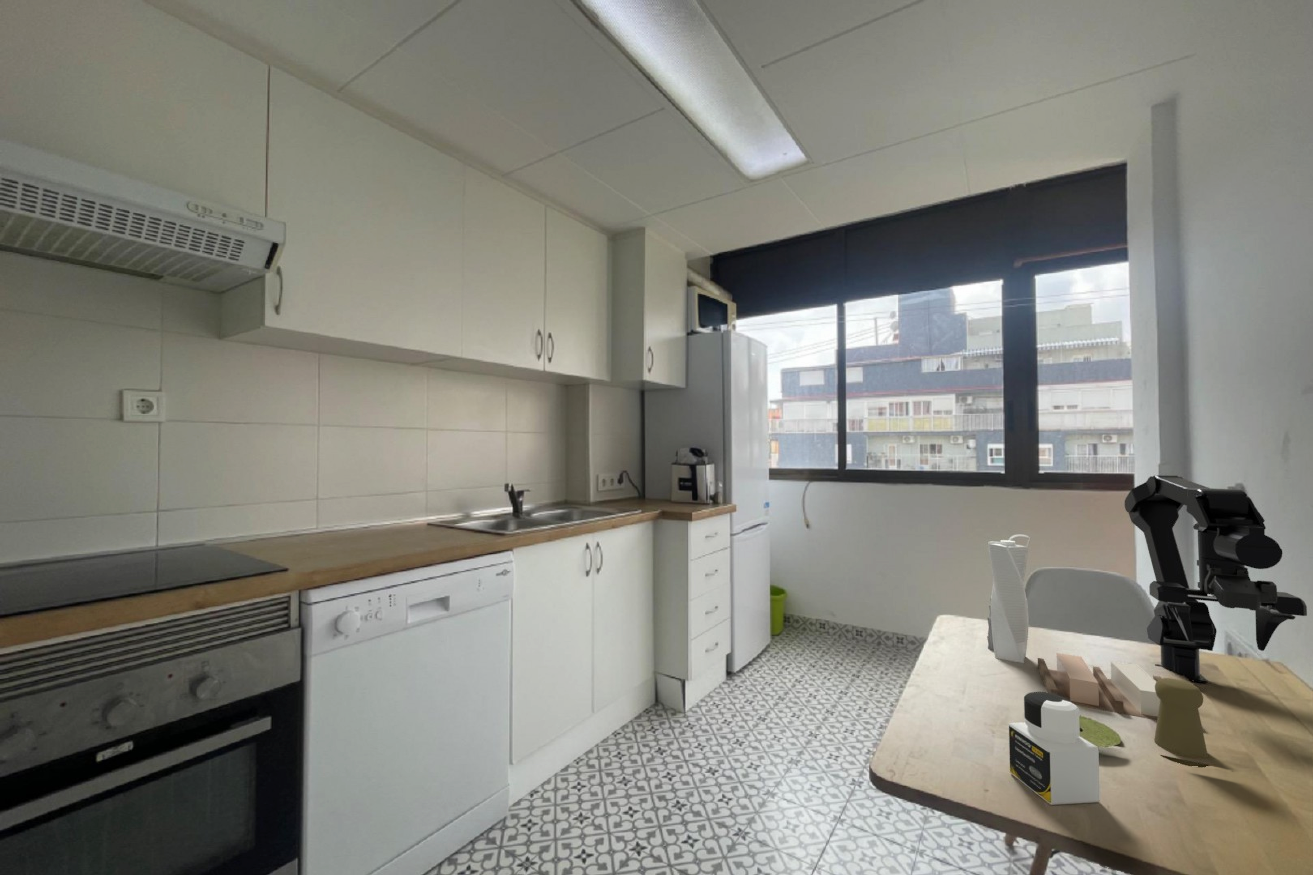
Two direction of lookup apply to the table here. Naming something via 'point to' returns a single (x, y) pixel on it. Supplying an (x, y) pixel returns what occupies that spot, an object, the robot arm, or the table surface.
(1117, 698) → the drying rack
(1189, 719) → the cork
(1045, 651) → the table surface
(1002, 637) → the skyscraper
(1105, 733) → the mat
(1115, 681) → the clay strip
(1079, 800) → the medicine bottle
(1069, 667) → the light brown wooden block
